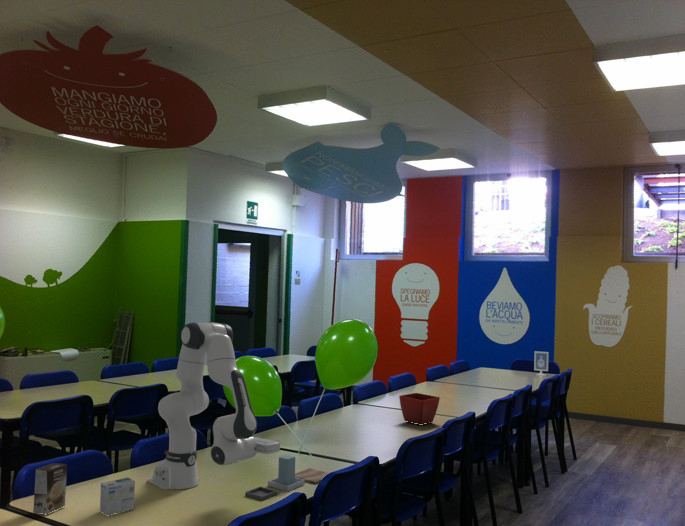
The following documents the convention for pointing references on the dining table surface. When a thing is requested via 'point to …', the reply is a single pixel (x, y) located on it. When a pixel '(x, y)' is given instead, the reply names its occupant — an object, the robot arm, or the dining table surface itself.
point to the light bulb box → (117, 496)
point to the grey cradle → (275, 484)
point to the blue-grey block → (286, 470)
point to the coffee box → (50, 488)
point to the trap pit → (261, 493)
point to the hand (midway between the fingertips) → (269, 440)
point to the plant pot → (419, 407)
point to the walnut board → (311, 475)
